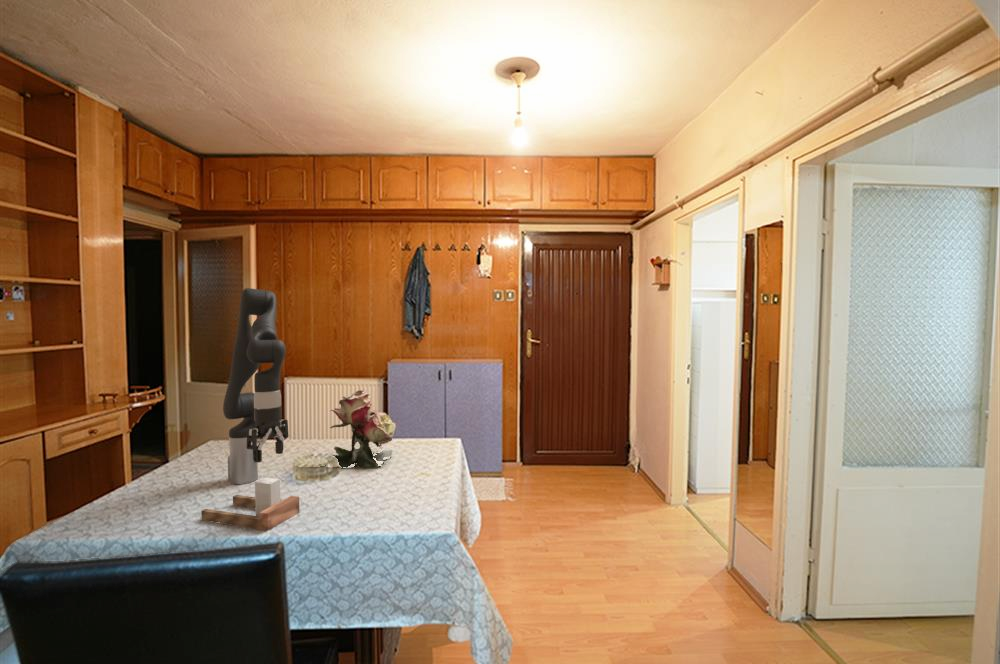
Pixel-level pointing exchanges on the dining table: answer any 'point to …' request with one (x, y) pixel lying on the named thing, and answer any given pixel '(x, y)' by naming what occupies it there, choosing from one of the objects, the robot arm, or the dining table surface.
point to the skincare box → (266, 494)
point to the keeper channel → (264, 522)
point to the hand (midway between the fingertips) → (268, 457)
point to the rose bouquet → (363, 430)
